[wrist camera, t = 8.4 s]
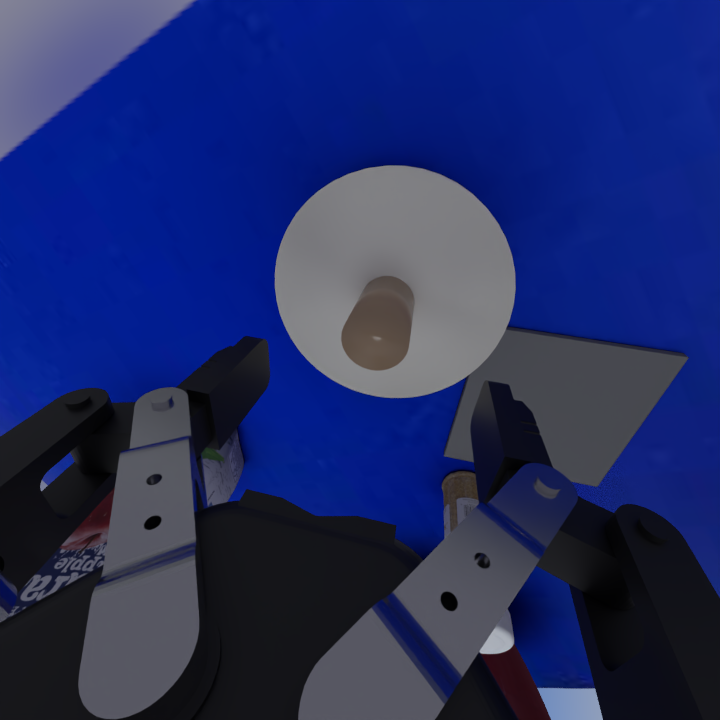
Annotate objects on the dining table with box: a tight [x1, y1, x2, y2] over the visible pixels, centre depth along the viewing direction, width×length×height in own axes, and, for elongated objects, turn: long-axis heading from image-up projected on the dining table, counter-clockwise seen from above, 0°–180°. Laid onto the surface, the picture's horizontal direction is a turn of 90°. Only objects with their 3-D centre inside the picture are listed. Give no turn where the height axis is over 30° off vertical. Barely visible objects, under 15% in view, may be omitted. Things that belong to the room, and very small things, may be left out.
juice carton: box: [6, 428, 244, 619], centre depth 27 cm, size 9×10×27 cm
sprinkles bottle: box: [442, 471, 514, 654], centre depth 29 cm, size 5×5×14 cm
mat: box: [444, 327, 689, 487], centre depth 28 cm, size 14×14×1 cm
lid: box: [275, 165, 516, 398], centre depth 18 cm, size 14×14×6 cm
